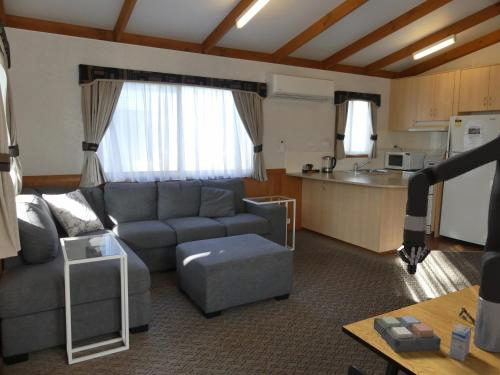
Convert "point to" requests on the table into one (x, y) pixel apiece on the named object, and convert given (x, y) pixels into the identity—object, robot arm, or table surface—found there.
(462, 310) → the wooden post with brackets
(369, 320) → the table surface
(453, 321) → the table surface
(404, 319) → the blue key
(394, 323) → the sage key
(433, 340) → the keypad
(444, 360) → the table surface
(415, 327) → the terracotta key
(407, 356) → the table surface
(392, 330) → the cream key
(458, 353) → the medicine box
